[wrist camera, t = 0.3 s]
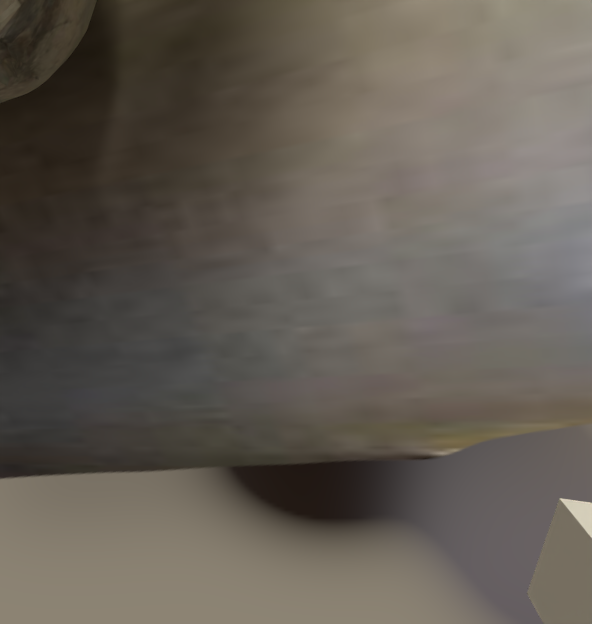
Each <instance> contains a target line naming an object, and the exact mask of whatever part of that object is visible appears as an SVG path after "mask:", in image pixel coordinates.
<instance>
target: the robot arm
mask: <svg viewBox="0 0 592 624" xmlns="http://www.w3.org/2000/svg"><path fill="white" fill-rule="evenodd" d="M527 594H528V596H529V598H530V600H531V602H532V603H533V605H534V607H535V609H536V611H537V613H538V614H539V616H540V618H541V620H542V622H543V624H592V503H589V502H582V501H574V500H567V499H561V498H560V499H559V501H558V505H557V507H556V510H555V513H554V516H553V519H552V522H551V525H550V528H549V531H548V534H547V537H546V540H545V542H544V545H543V548H542V551H541V555H540V557H539V560H538V563H537V566H536V569H535V572H534V575H533V578H532V581H531V583H530V586H529V589H528V592H527Z"/></svg>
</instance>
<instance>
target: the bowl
mask: <svg viewBox="0 0 592 624" xmlns="http://www.w3.org/2000/svg"><path fill="white" fill-rule="evenodd" d="M96 2H97V0H0V103H2V102H5V101H7V100H10V99H13V98H16V97H19V96H22V95H25V94H27V93H29V92H31V91H33V90H34V89H36V88H37V87H39V86H40V85H42V84H43V83H44V82H45V81H46V80H48V79H49V78H50V77H51V75H52V74H53V73H54V72H55V71H56V70H57V69H58V68H59V67H60V66H61V65H62V64H63V63H64V62H65V61H66V60H67V59H68V58H69V56H70V55H71V54H72V53H73V51H74V50H75V49H76V47H77V46H78V44H79V43H80V41H81V39H82V38H83V36H84V34H85V33H86V31H87V29H88V26H89V23H90V20H91V17H92V14H93V11H94V8H95V5H96Z"/></svg>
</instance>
